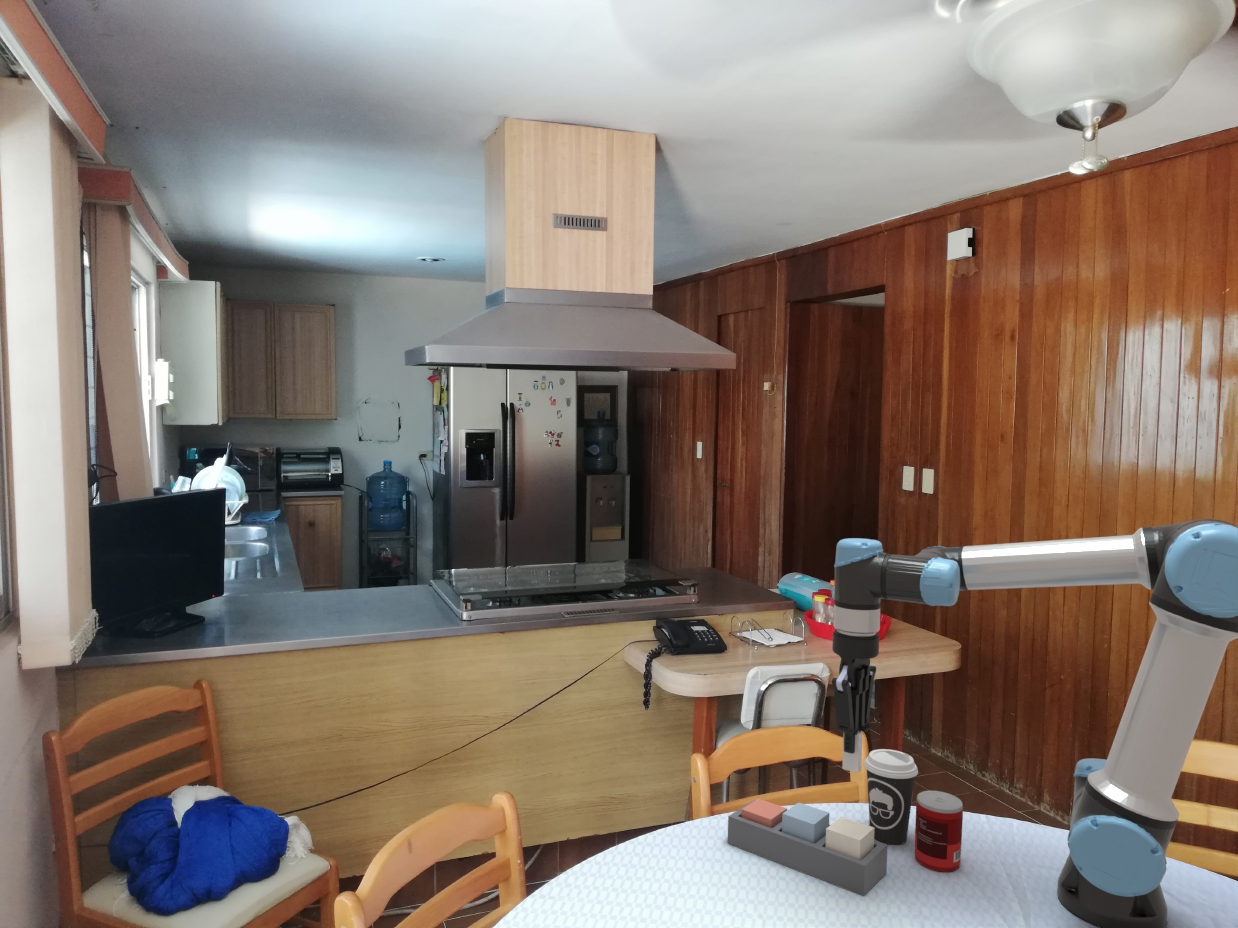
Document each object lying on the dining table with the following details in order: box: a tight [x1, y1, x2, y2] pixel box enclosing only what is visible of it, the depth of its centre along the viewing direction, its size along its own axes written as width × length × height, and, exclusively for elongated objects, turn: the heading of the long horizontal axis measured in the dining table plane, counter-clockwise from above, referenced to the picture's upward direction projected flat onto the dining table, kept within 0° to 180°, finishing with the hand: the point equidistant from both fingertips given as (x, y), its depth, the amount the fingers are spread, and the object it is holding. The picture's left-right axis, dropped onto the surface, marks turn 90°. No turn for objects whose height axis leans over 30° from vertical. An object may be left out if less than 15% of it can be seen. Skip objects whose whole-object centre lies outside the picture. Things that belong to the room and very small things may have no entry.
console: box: [726, 799, 888, 897], centre depth 146 cm, size 26×9×5 cm, turn 51°
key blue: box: [782, 802, 830, 844], centre depth 146 cm, size 6×6×4 cm
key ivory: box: [825, 816, 875, 860], centre depth 141 cm, size 6×6×4 cm
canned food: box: [914, 790, 964, 873], centre depth 147 cm, size 8×8×11 cm
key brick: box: [741, 798, 788, 828], centre depth 152 cm, size 6×6×4 cm
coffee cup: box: [863, 748, 919, 846], centre depth 155 cm, size 10×10×15 cm
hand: (851, 769), depth 141 cm, fingers closed
